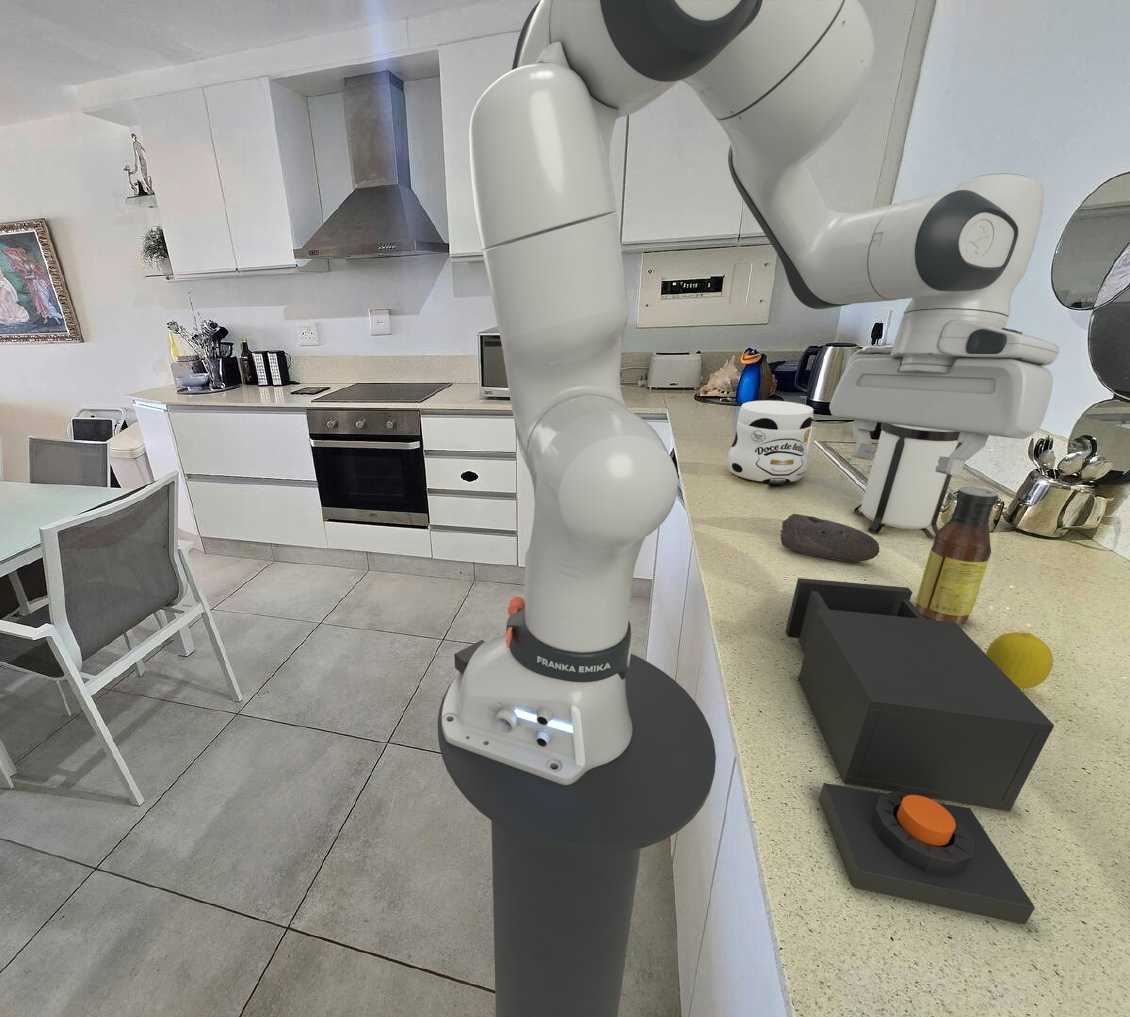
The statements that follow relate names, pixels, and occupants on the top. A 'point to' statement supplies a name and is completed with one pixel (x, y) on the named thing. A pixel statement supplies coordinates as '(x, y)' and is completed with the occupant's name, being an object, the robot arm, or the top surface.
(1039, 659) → the lemon
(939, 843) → the button
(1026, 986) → the top surface
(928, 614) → the sauce bottle
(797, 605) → the fryer drawer
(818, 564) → the top surface
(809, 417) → the doce de leite jar
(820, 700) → the charcoal drawer unit
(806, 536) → the perforated stone tool
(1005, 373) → the robot arm
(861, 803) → the control block
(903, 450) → the coffee press
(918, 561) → the top surface
